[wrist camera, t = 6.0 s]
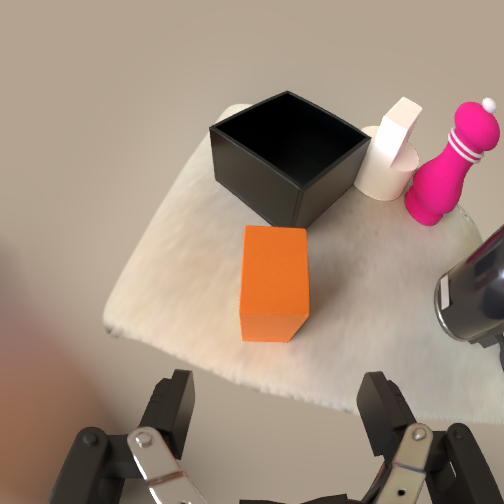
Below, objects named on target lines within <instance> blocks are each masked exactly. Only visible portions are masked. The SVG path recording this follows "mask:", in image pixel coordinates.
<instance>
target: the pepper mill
mask: <svg viewBox="0 0 504 504" xmlns="http://www.w3.org/2000/svg"><path fill="white" fill-rule="evenodd" d="M495 111H496V104H495V102H494V101H493V100H492V99H490V98H485V99H484V100H483V102H482V105H480V104H478V103H475V102H466V103H463V104H462V105H461V106H459V108H458V109H457V111H456V113H455V117H454V118H455V125H456V127H453V128H452V129H451V132H450V133H449V134H448V140H449V141H448V144H447V146H446V148H445V149H444V151H443V152H442V153H441V154H440V155H439V156H438V157H436V158H434V159H432V160H430V161H429V162H427V163H425V164H423V165H422V166H421V167H420V168H419V169H418V170H417V172H416V173H415V174H414V177H413V185H412V186H411V187H410V189H409V190H408V192H407V193H406V195H405V205H406V208H407V210H408V211H409V213H410V214H411V215H412V217H413V218H415V219H416V220H417V221H418V222H420V223H422V224H424V225H427V226H432V225H435V224H436V223H437V222H438V221H439V220H440V219H441V218H442V216H443V214H446V213H449V212H451V211H452V210H453V209H454V208H455V206H456V205H457V203H458V201H459V198H460V196H461V192H462V187H463V182H464V178H465V176H466V173H467V172H468V170H469V169H470V167H471V166H472V165H473V164H474V163H476V164H477V163H479V162H480V160H481V158H482V157H483V156H484V151H489V150H492V149H493V148H495V146H496V145H497V143H498V141H499V137H500V130H499V125H498V123H497V120H496V119H495V117H494V116H493V115H492V113H494V112H495Z"/></svg>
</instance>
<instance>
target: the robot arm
mask: <svg viewBox="0 0 504 504" xmlns="http://www.w3.org/2000/svg"><path fill="white" fill-rule="evenodd" d="M434 302H435V310H436V314H437V317H438V320H439V322H440V324H441V326H442V327H443V329H444V330H445V332H446V333H447V334H448V335H449V336H450V337H452V338H453V339H455V340H458V341H468V342H470V343H471V344H475V343H477V342H479V343H480V344H481V345H482V346H483V348H486V347H489V346H492V345H494V344H497V343H499V344H500V348H501V351H500V360H501V364H502V368H503V371H504V336H503V334H502V333H503V332H504V224H503V225H502V226H501V227H500V228H499V229H498V230H497V231H496V232H494V233H493V234H492V235H491V236H490V237H489V238H488V239H487V240H486V241H485V242H484V243H482V244H481V245H480V246H479V247H478V248H477V249H476V250H475V251H473V252H472V253H471V254H470V255H469V256H467V257H466V258H465V259H464V260H463V261H461V262H460V263H459V264H458V265H457V266H455V267H454V268H452V269H451V270H450V271H448V272H447V273H445V274H444V275H443V276H442V277H441V278H440V279H439V281H438V283H437V285H436V289H435V296H434ZM194 403H195V390H194V381H193V373H192V371H189V370H181V369H175V371H174V373H173V376H172V378H171V379H167V378H163V379H162V380H161V381H160V382H159V383H158V384H157V385H156V386H155V389H154V391H153V395H152V396H151V398H150V401H149V403H148V405H147V408H146V410H145V413H144V415H143V417H142V420H141V422H140V424H139V426H138V428H136V429H134V430H133V431H131V432H130V433H129V434H126V435H106V433H105V432H104V431H103V430H101V429H100V428H97V427H87V428H84V429H82V430H81V431H80V432H79V433H78V434H77V436H76V439H75V441H74V443H73V445H72V447H71V449H70V451H69V453H68V456H67V458H66V460H65V462H64V465H63V467H62V469H61V471H60V474H59V476H58V478H57V481H56V483H55V485H54V488H53V490H52V493H51V495H50V498H49V501H48V503H47V504H119V500H120V497H121V493H122V489H123V485H124V482H125V478H145V480H146V482H147V485H148V487H149V489H150V491H151V493H152V494H153V496H154V498H155V500H156V501H157V503H158V504H208V502H207V501H206V500H205V498H204V497H203V496H202V495H201V493H200V492H199V490H198V489H197V487H196V486H195V485H194V483H193V482H192V481H191V479H190V478H189V476H188V475H187V474H186V472H184V471H183V470H182V469H181V468H180V466H179V464H178V463H177V461H176V460H175V459H178V460H181V456H182V453H183V449H184V445H185V440H186V436H187V432H188V428H189V424H190V420H191V416H192V412H193V408H194ZM357 407H358V410H359V412H360V415H361V418H362V421H363V424H364V427H365V430H366V432H367V436H368V438H369V441H370V444H371V447H372V450H373V453H374V456H380V455H383V457H384V459H385V460H384V462H383V464H382V466H381V468H380V470H379V472H378V474H377V476H376V478H375V480H374V482H373V483H372V485H371V487H370V489H369V491H368V492H367V494H366V495H365V496H364V498H363V499H362V500H361V501H358V500H352V499H348V498H347V494H342V495H334V496H327V497H321V498H318V499H314V500H311V501H308V502H305V503H302V504H416V502H417V499H418V497H419V494H420V491H421V489H422V486H423V483H424V480H425V481H426V484H427V487H428V490H429V494H430V497H431V500H432V504H504V501H503V499H502V497H501V494H500V491H499V489H498V486H497V484H496V482H495V479H494V477H493V475H492V473H491V471H490V468H489V466H488V464H487V462H486V460H485V458H484V456H483V454H482V452H481V450H480V448H479V446H478V444H477V442H476V440H475V438H474V437H473V434H472V433H471V431H470V429H469V428H468V427H467V426H466V425H464V424H462V423H454V424H452V425H451V426H450V427H449V428H448V430H447V431H432V430H431V429H430V428H429V427H428V426H427V425H425V424H422V423H417V421H416V419H415V418H414V416H413V414H412V412H411V410H410V408H409V406H408V404H407V402H406V401H405V399H404V397H403V395H402V393H401V391H400V389H399V387H398V386H397V385H396V384H395V383H393V382H392V381H391V380H388V381H387V380H386V378H385V376H384V374H383V372H381V371H377V372H367V373H366V374H365V376H364V378H363V381H362V384H361V386H360V389H359V392H358V394H357ZM450 462H451V463H452V466H453V468H454V470H455V473H456V477H455V474H454V472H453V470H452V467H451V464H450ZM239 504H284V503H278V502H273V501H268V500H240V502H239Z"/></svg>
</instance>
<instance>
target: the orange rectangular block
mask: <svg viewBox="0 0 504 504" xmlns="http://www.w3.org/2000/svg"><path fill="white" fill-rule="evenodd" d="M309 315H310V305H309V274H308V253H307V235H306V229H301V228H284V227H265V226H245V233H244V247H243V262H242V276H241V291H240V306H239V316H240V325H241V334H242V340H243V341H261V342H288V341H289V340H290V339H291V338H292V337H293V335H294V334H295V333H296V332H297V330H298V329H299V328H300V327H301V325H302V324H303V323H304V322H305V320H306V319H307V318H308V317H309Z"/></svg>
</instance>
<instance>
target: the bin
mask: <svg viewBox="0 0 504 504" xmlns="http://www.w3.org/2000/svg"><path fill="white" fill-rule="evenodd" d="M209 130H210V139H211V147H212V156H213V164H214V172H215V180H216V181H218V182H219V183H220V184H221V185H223V186H224V187H225V188H226V189H228V190H229V191H230V192H231V193H233V194H234V195H235V196H236V197H238V198H239V199H240V200H241V201H242V202H244V203H245V204H246V205H247V206H249V207H250V208H251V209H252V210H253V211H255V212H256V213H257V214H258V215H260V216H261V217H262V218H263V219H264V220H266V221H267V222H268V223H269V224H270V225H272V226H273V227H284V228H301V229H306V228H307V227H308V226H309V225H310V224H311V223H312V222H314V221H315V220H316V219H317V218H318V217H319V216H320V215H321V214H322V213H323V212H324V211H326V210H327V209H328V208H329V207H330V206H331V205H332V204H333V203H334V202H335V201H336V200H337V199H338V198H340V197H341V196H342V195H343V194H344V193H345V192H346V191H347V190H348V189H349V188H350V187H351V186H352V185H353V183H354V181H355V179H356V176H357V174H358V171H359V169H360V167H361V164H362V162H363V159H364V157H365V154H366V152H367V149H368V147H369V144H370V142H371V139H372V137H370V136H368V135H367V134H366V133H364V132H362V131H361V130H359V129H358V128H356V127H354V126H353V125H351V124H349V123H348V122H346V121H344V120H343V119H341V118H339V117H337V116H336V115H334V114H332V113H330V112H329V111H327V110H325V109H323V108H321V107H319V106H318V105H316V104H313V103H312V102H310V101H308V100H306V99H304V98H302V97H300V96H298V95H296V94H294V93H292V92H290V91H285V92H282V93H280V94H278V95H275V96H273V97H271V98H268V99H266V100H264V101H262V102H259V103H257V104H255V105H253V106H251V107H249V108H246V109H244V110H242V111H240V112H238V113H236V114H234V115H232V116H230V117H228V118H226V119H224V120H222V121H220V122H218V123H216V124H215V125H213V126H211V127H209Z"/></svg>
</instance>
